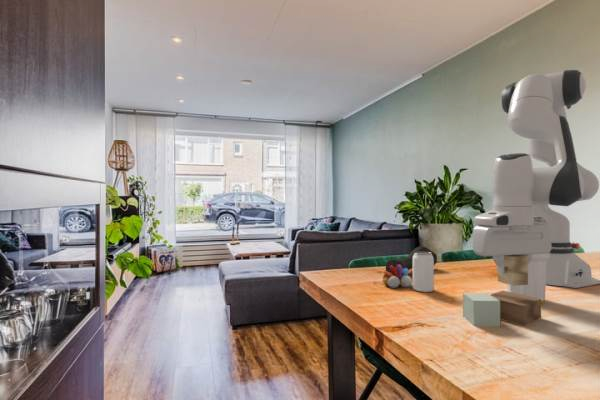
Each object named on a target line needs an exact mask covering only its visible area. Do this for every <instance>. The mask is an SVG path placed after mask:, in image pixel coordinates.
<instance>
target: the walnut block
mask: <svg viewBox="0 0 600 400" xmlns="http://www.w3.org/2000/svg"><path fill="white" fill-rule="evenodd" d="M490 295H491V296H493V297H494V298H496V299H498V300H499V301H500V321H501V320H502V321H504V322H509V323H512V324H516V325H519V326H523V327H525V326H527V325H530V324H532V323H534V322H536V321H538V320H540V319H541V318H542V303H541V299H539V298H534V297H529V296H525V295H520V294H516V293H511V292H508V290H507V291H506V290H500V291H497V292H494V293H491V294H490Z"/></svg>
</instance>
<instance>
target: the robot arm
mask: <svg viewBox="0 0 600 400" xmlns="http://www.w3.org/2000/svg"><path fill="white" fill-rule="evenodd" d="M586 83H587V82H586V79H585V78H584V76H583V73H582V72H581V71H579V70H578V69H566V70H563V71H560V72H559V71H558V72H557V71H556V72H550V73H547V74H546V73H545V74H541V73H533V74H529V75H526V76H525V77H523V78H522V79H520V80H519V81H518V82H513V83H510V84H509V85H506V86H505V87H504V88H503V89H502V91H501V95H500V105H501V107H502V110H503V112H504V113H506V114H507V124H508V126H509V128H510V131H513V133H514V134H516V135H518V136H519V137H522V138H525V139H527V144H528V146H527V147H528V149H527V150H528V153H523V152H521V153H509V154H501V155H499V156H498V157H496V158H495V161H494V164H493V170H492V171H493V172H492V178H491V179H492V181H491V182H492V183H491V186H492V187H491V189H492V194H493V201H492V205H491V206H492V207H491V208H492V209H491V210H488V211H486V212H483V213H480V214H478V215H476V216H475V217H474V219H473V221H474V222H473V223H474V224H475V225H476V226H475V227H474V228H473V232H472V233H473V234H472V251H473V252H474V254H475V255H477V256H481V257H492V260H493V262H494V263H495V266H496V271H497V274H498V273H501V274H503V273H507V272H508V271H507V269H508V267H507V266H504V263H503V261H502V260H504V256H505V255H524V256H528V265H529V263H530V262H531V260H532V254H548V253H549V258H548V259H547V263H546V285H549V286H558V287H566V288H574V289H578V288H582V287H583V288H584V287H590V286H593V285H600V279H598V278H595V277H592V268H591V265H590V264H589V263H587V262H586V261H585V260H583V259H582V258H581V257H580V256H578V254H576V253H575V250H574V249H576V250H579V249H580V248H581V245H580V243H579V242H578V243H577V242H576V243H575V242H571V237H570V236H571V235H570V234H571V233H570V230H571V229H570V228H571V223H570V220H569V219H568V217H567V216H566V215H564V214H562V213H560V212H557V211H555V210H553V209H552V208H550V206H561V207H569V206H572V205H573V204H575V203H577V202H582V201H588V200H591V199H592V198H593V197H595V195H596V194H597V193H598V191H599V188H600V181H599V179H598V177H597V176H596V174H594V172H592V171H591V170H589V169H588V168H585V167H584V166H582V165H580V163H579V162H578V161H577V156H576V155H577V154H576V151H575V145H574V140H573V134H572V132H571V129H570V124H569V122H568V118H567V112H566V109H567V110H570V109H571V107H572V106H574V105H576V104H578V103H579V101H581V99H583V96H584V93H585V91H586V87H587V84H586ZM565 107H566V108H565ZM532 158H533V159H535V160H537V161H540V162H542V163H545V164H547V165H548V166H546V167H533V162H532V161H533V160H532ZM549 205H550V206H549Z"/></svg>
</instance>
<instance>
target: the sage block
mask: <svg viewBox="0 0 600 400" xmlns="http://www.w3.org/2000/svg"><path fill="white" fill-rule="evenodd" d="M462 317H463V318H464V317H465V318H466V319H465V318H464V319H465V320H466V321H468V322H469V323H470V324H471V325H472V326H474V327H475V326H476V327H500V326H501V319H500V301H499V300H498V299H496V298H494V297H493V296H491V294H489V293H485V292H481V293H479V292H478V293H477V292H475V293H473V292H472V293H471V292H468V293H467V292H463V293H462Z"/></svg>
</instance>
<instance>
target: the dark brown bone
mask: <svg viewBox="0 0 600 400" xmlns="http://www.w3.org/2000/svg"><path fill="white" fill-rule="evenodd" d="M414 252H430V253H432V256H433V258H434V266H435V265H436V264H437V261H438V256H437V253H435V252H434V251H432V250H431V249H430V248H428V247H426V246H424V245H423V246H421V245H420V246H417V247H415V248H414V249H412V250H411V251H410V252H409V254H408V257H405V258H392V259H390V260H388V261H387V262H386V263H385V271H387V272H390V273H391V270H390V265H392V266H393V267H394V268H396V266H397V265H398V264H399V265H401V266H402V269H404V268H407V269H408V270H409V271H410V270H413V255H414Z"/></svg>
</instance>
